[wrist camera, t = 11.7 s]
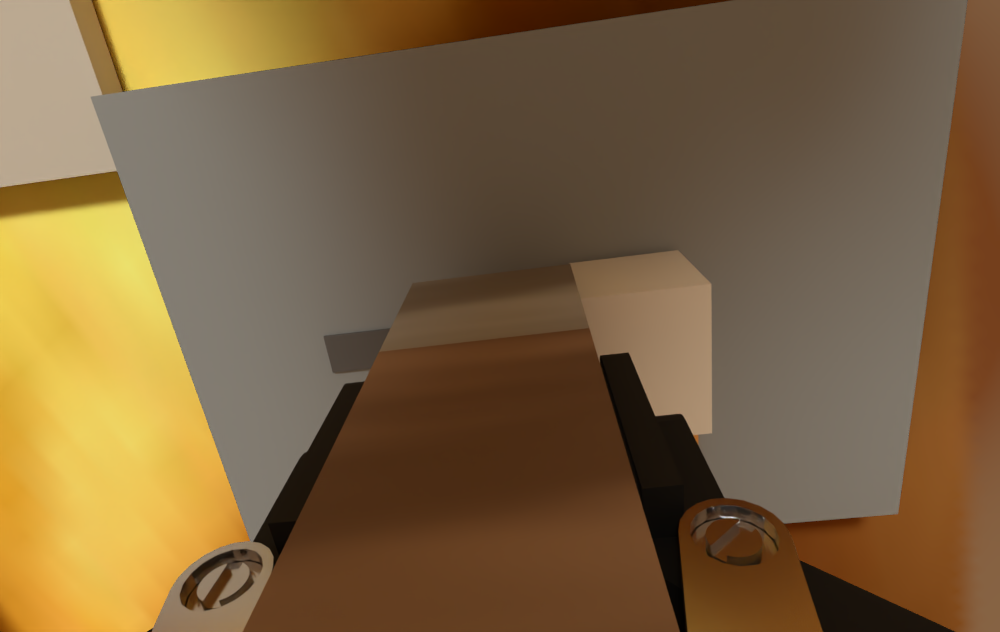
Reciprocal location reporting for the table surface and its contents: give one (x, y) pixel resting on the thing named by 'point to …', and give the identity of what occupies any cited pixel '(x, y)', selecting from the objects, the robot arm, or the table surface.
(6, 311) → the table surface
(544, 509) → the block
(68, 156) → the mat
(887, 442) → the switch board
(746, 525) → the robot arm
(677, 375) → the switch tab
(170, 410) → the table surface
